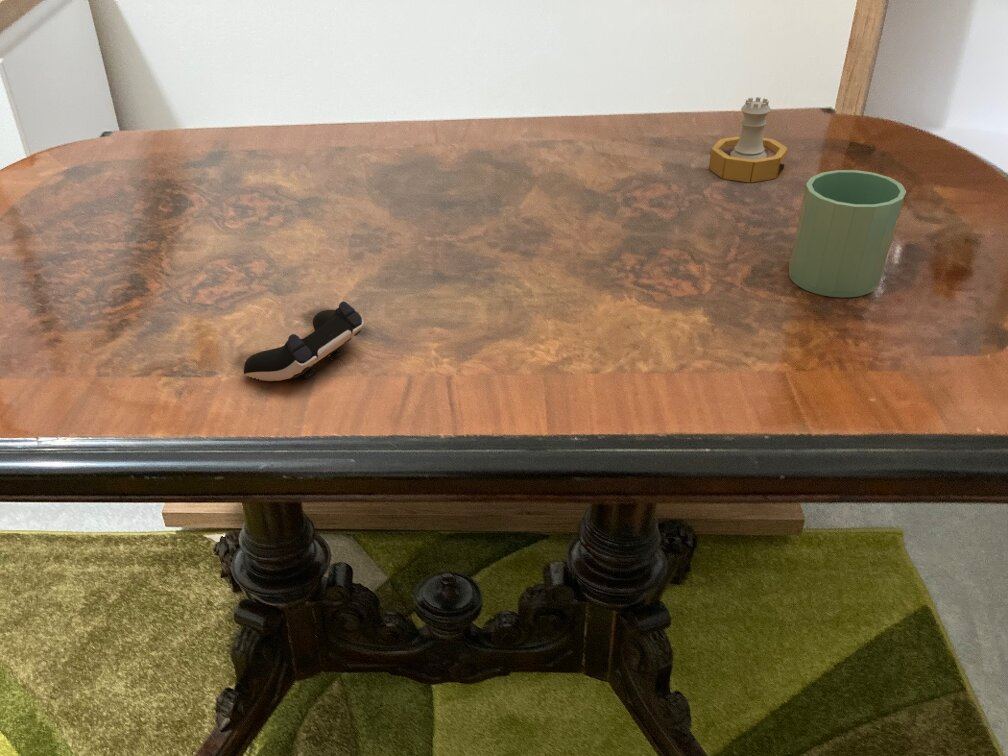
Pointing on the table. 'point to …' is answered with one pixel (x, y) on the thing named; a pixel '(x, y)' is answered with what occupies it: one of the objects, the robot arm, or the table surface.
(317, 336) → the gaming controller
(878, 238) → the green cup
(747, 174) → the holder ring
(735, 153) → the rook chess piece
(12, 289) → the table surface
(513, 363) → the table surface
